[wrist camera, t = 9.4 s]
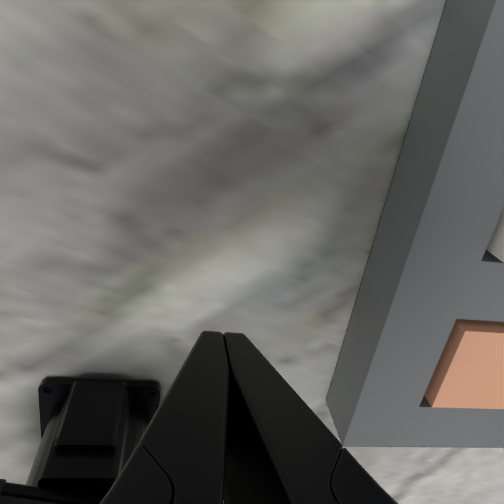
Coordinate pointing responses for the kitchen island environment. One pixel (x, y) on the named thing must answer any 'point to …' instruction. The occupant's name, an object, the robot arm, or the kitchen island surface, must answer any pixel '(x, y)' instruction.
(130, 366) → the kitchen island surface
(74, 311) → the kitchen island surface
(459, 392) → the terracotta key
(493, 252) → the offwhite key
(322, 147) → the kitchen island surface
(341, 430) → the key panel
